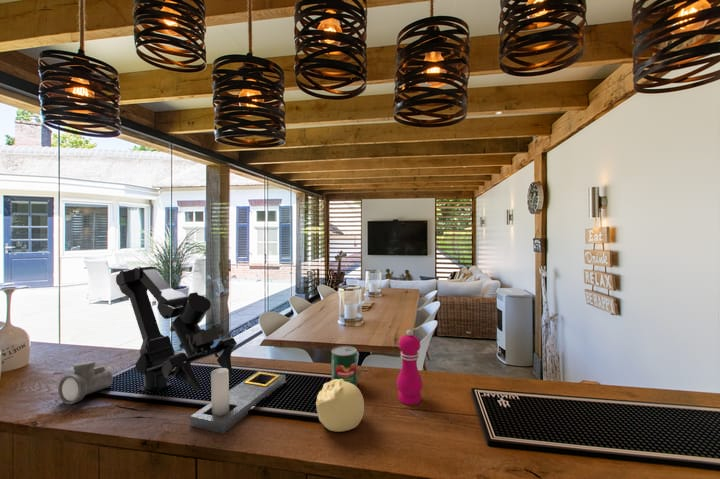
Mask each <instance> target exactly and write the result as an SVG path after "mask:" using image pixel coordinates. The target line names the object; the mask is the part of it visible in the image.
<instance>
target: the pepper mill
mask: <svg viewBox="0 0 720 479" xmlns="http://www.w3.org/2000/svg"><path fill="white" fill-rule="evenodd" d="M405 333H406V334H405V335H403V336H402V337H400V339H399V341H398V348H399V350H400V358H401V360H402V363H401V364H402V366H401V369H400V372H399V374H398V376H397V380H396V387H397V389H398V401H399V402H400V403H402V404H405V405H408V406H414V405H418V404H420V402H421V400H422V397H421V396H422V394H421V391H422V389H423V379H422V376H421V374H420V372H419V370H418V362H417V361H418V359H419V350H420V349H421V342H420V339H419V338H418V337H417V336H416V335H413V333H414V331H413V330H411V329H408V330H407V331H406V332H405Z"/></svg>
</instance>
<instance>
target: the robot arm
mask: <svg viewBox="0 0 720 479" xmlns="http://www.w3.org/2000/svg"><path fill="white" fill-rule="evenodd" d="M115 282H116V283H115V284H116V285H117V286H118V287H119V290H120V292H121V293H122V294H124V295H125V296H126V297H127V298H129V300H130V303H131V307H132V309H133V313H134V316H135V319H136V323H137V326H138V329H139V332H140V335H141V338H142V344H141V347H140V349H139V355H140V356H139V357H138V358H137V361H136V363H135V371H136V372H138V373H139V374H141V375H143V386H141V387H138V390H139V391H140V390H141V392H144V391H145V392H144V393H147V392H149V393H148V394H150V393H153V394H155V393H154V392H156V391H158V390H160V391H162V390H164V389H166V388H165V387H167V388H169V387H170V385H171V386H172V382H168V378H169V377H170V379H171V380H172V379H173V380H174V379H175V380H176V379H177V381H180V382H182V383H184V384H186V385H187V386H189V387H191V388H192V389H193V390H195V391H197V392H200V391H201V389H202V388H201V385H200V382H199V380H198V379H197V377H196V375H195V373H194V372H193V369H192V365H191V364H192V363H194V362H197V361H199V360H203V359H205V358H210V357H211V356H215V358H217V360H216V361H217V363H218V364H219V365H220V367H221V368H227V369H228V374H229V378H232V377H233V374H234V373H233V369H232V368H233V367H232V361H231V360H232V359H231V354H232V352H233V350H234V349H235V347H236V346H237V344H238V343H237V341H236V340H235V338H234V337H231V336H230V337H226V338H223V339H221V338H220V336H222V335H223V334H224V333H225V331H224V328H223V326H222V325H221V323H216V324H213V325H211V327H210V328H207V329H205V328H202V329H201V327H200V326H199V324H200V323H202V321H203V319H204V318H205V316H206V315H207V314H208V311H210V309H211V305H212V304H211V301H210V299H208V298H207V297H205V296H203V295H200V294H199V293H198V292H197V291H196V292H190V293H189V294H188V295H186V294H185V293H184V292H182V291H179V290H176V289H173V288H172V287H171V286H170V284H169V283H168V282H167V281H166V280H165V279H164V278H163V277H162V275H160V273H159V272H158V271H157V269H156V266H154V265H153V264H152V265H149V264H148V265H141V266H137V267H135V268H132V269H123V270H120V271H119V273H117V274H116V276H115ZM148 292H149V293H150V294H151V295H152V296H153V297H154V298H155V300H156V302H157V311H158V313H159V315H160V316H161V317H162V318H163V319H165V320H167V319H173V318H174V320H173V321H171V325H170V328H169V331H170V332H175V334H176V336H177V338H178V340H179V342H180V344H179V348H180V350H181V349H184V351H185V353H184V352H181V353H178V354H175V353H176V352H175V349H174V346H173V344H172V342H171V337H170V336H169V335H165V336H164V335H163V334H162V333H161V331H160V328H159V324H158V322H157V318H156V316H155V313H154V309H153V306H152V303H151V301H150V298H149V294H148ZM219 339H220V340H219ZM216 340H219V341H218V343H217V344H216V346H214V347H212V346H213V345H214V344H215V342H214V341H216ZM168 386H169V387H168ZM163 388H164V389H163ZM161 389H162V390H161ZM158 392H159V391H158ZM156 393H157V392H156Z"/></svg>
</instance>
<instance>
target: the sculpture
mask: <svg viewBox="0 0 720 479" xmlns="http://www.w3.org/2000/svg"><path fill="white" fill-rule="evenodd" d="M322 386H323V387H322V389H321V390H320V391H319V392H318V394H317V395H316V402H315V406H316V413H317V414H318V420H319V422H320V423H321V424H322V426H324V427H325V428H326V429H327V430H328V431H331V432H335V433H336V432H338V433H339V432H340V433H341V432H346V431H351V430H352V429H354V428H357V426H359V424H360V423H361V420H362V419H363V416H364V412H365V401H364V397H363V393H361V390H360V389H359V388H358V387H357V386H355V385H353V384H352V383H349V382H345V381H344V380H343V379H334V380H332V379H331V380H330V381H327V382H325V383H323V385H322Z"/></svg>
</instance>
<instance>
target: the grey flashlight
mask: <svg viewBox="0 0 720 479" xmlns="http://www.w3.org/2000/svg"><path fill="white" fill-rule="evenodd" d="M95 365H96V361H95V360H87V361H82V362H81V361H80V362H77V363H75V364H73V366H72V367H73V372H74V373H71V374H67V375H65V376H63V377H62V378H61V379H60V380H59V384H58V388H57V392H58V396H59V399H60V400H61V402H62V403H63V404H65V405H74V404H76V403H79V402H80V401H82V400H83V399H84V398H85V396H87V395H89V394H93V393H96V392H99V391H102V390H104V389H107V388H109V387H110V386H111V385H112V384H113V381H114V376H113V375H114V374H113V373H112V372H113V371H111V370H110V369H109V368H106V367H105V365H102V364H100V365H96V366H95Z"/></svg>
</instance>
